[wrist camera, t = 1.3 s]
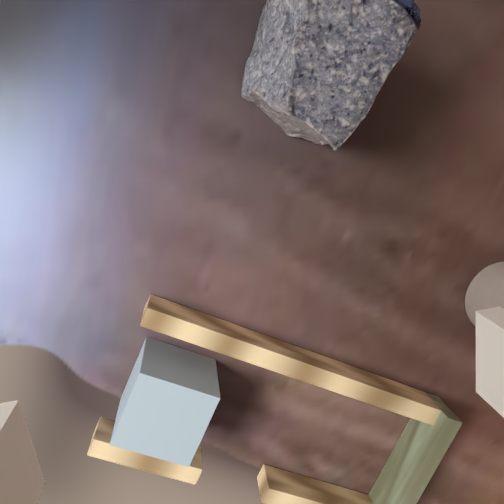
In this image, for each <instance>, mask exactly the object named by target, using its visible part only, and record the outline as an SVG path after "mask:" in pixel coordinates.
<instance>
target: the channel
mask: <svg viewBox="0 0 504 504" xmlns="http://www.w3.org/2000/svg"><path fill="white" fill-rule="evenodd" d="M140 326H142V327H145V328H148V329H151V330H154V331H157V332H160V333H163V334H166V335H169V336H172V337H174V338H177V339H180V340H183V341H186V342H189V343H192V344H195V345H198V346H201V347H204V348H207V349H210V350H213V351H216V352H219V353H221V354H224V355H227V356H230V357H233V358H236V359H239V360H242V361H245V362H248V363H251V364H254V365H257V366H260V367H263V368H266V369H268V370H271V371H274V372H277V373H280V374H283V375H286V376H289V377H292V378H295V379H298V380H301V381H304V382H307V383H310V384H312V385H315V386H318V387H321V388H324V389H327V390H330V391H333V392H336V393H339V394H342V395H345V396H348V397H351V398H354V399H357V400H359V401H362V402H365V403H368V404H371V405H374V406H377V407H380V408H383V409H386V410H389V411H392V412H395V413H398V414H401V415H404V416H406V417H409V418H410V420H409V422H408V423H407V425H406V427H405V429H404V431H403V432H402V434H401V436H400V438H399V440H398V442H397V443H396V445H395V447H394V449H393V451H392V453H391V454H390V456H389V458H388V460H387V462H386V463H385V465H384V467H383V469H382V471H381V473H380V474H379V476H378V478H377V480H376V482H375V484H374V485H373V487H372V489H371V491H370V493H369V494H364V493H361V492H357V491H354V490H350V489H347V488H344V487H340V486H337V485H333V484H330V483H326V482H323V481H320V480H316V479H313V478H309V477H306V476H302V475H299V474H296V473H292V472H289V471H285V470H282V469H278V468H275V467H272V466H268V465H265V464H263V466H262V468H261V470H260V472H259V474H258V477H257V481H258V486H259V490H260V496H261V501H262V503H265V504H417V502H418V500H419V498H420V497H421V495H422V493H423V491H424V490H425V488H426V486H427V484H428V483H429V481H430V479H431V477H432V476H433V474H434V472H435V470H436V469H437V467H438V465H439V463H440V462H441V460H442V458H443V456H444V455H445V453H446V451H447V449H448V448H449V446H450V444H451V442H452V441H453V439H454V437H455V435H456V434H457V432H458V430H459V429H460V427H461V425H462V422H461V421H460V419H459V418H458V417H457V416H456V415H455V414H454V413H453V412H452V411H451V410H450V409H449V408H448V407H447V406H446V404H445V403H444V402H443V401H442V400H441V399H440V398H439V397H437V396H435V395H432V394H429V393H426V392H423V391H421V390H418V389H415V388H412V387H409V386H407V385H404V384H401V383H398V382H395V381H393V380H390V379H387V378H384V377H381V376H379V375H376V374H373V373H370V372H367V371H365V370H362V369H359V368H356V367H353V366H351V365H348V364H345V363H342V362H339V361H337V360H334V359H331V358H328V357H325V356H323V355H320V354H317V353H314V352H311V351H309V350H306V349H303V348H300V347H297V346H295V345H292V344H289V343H286V342H284V341H281V340H278V339H275V338H272V337H270V336H267V335H264V334H261V333H258V332H256V331H253V330H250V329H247V328H244V327H242V326H239V325H236V324H233V323H230V322H228V321H225V320H222V319H219V318H216V317H214V316H211V315H208V314H205V313H202V312H200V311H197V310H194V309H191V308H188V307H186V306H183V305H180V304H177V303H174V302H172V301H169V300H166V299H163V298H160V297H158V296H155V295H152V294H150V296H149V299H148V301H147V304H146V306H145V308H144V311H143V315H142V319H141V324H140ZM114 424H115V421H114V420H111V419H107V418H104V417H100V419H99V421H98V424H97V426H96V428H95V431H94V434H93V437H92V440H91V444H90V447H89V450H88V453H87V455H88V456H92V457H96V458H99V459H103V460H107V461H110V462H114V463H118V464H121V465H125V466H129V467H132V468H136V469H140V470H143V471H147V472H151V473H154V474H158V475H162V476H165V477H169V478H173V479H176V480H180V481H184V482H187V483H191V484H195V485H196V482H197V480H198V478H199V476H200V474H201V472H202V449H201V446H200V445H199V446H198V448H197V450H196V453H195V455H194V457H193V459H192V461H191V464H190V466H189V467H186V466H183V465H179V464H176V463H172V462H169V461H165V460H161V459H158V458H154V457H151V456H147V455H143V454H140V453H136V452H133V451H129V450H125V449H122V448H118V447H115V446H111V445H110V441H111V437H112V433H113V428H114Z"/></svg>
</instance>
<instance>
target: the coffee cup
mask: <svg viewBox="0 0 504 504" xmlns="http://www.w3.org/2000/svg"><path fill="white" fill-rule="evenodd" d="M499 306H500V307H502V308H503V309H504V262H497V263H494V264H491V265H489V266H487V267H486V268H484V269H483V270H481V271H480V272H479V273H478V274H477V275H476V276H475V277H474V279H473V280H472V281H471V283H470V285H469V287H468V289H467V292H466V296H465V310H466V313H467V316H468V318H469V319H470V321H471V322H472V323H473V324H474V325H475V326H476V311H479V310H484V309H489V308H494V307H499Z"/></svg>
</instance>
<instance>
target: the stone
mask: <svg viewBox="0 0 504 504" xmlns="http://www.w3.org/2000/svg"><path fill="white" fill-rule="evenodd" d="M414 8H415V9H414ZM419 15H420V9H419V8H418V6H417V5H416V4H415V3H414V0H267V1H266V3H265V5H264V7H263V10H262V14H261V15H260V21H259V26H258V29H257V32H256V38H255V42H254V45H253V48H252V51H251V54H250V56H249V58H248V60H247V62H246V66H245V72H244V76H243V84H242V92H241V96H242V97H243V98H244V99H246V100H248V101H251V102H252V103H254V104H255V105H256V106H257V107H259V108H260V109H261V110H262V112H264V113H265V114H266V115H268V116H269V117H270V118H271V119H272V120H273V121H274V122H275V123H276V124H277V125H278V126H280V127H281V128H282V129H283V130H284V132H285V133H286V134H287V135H288V136H291V137H297V138H304V139H306V140H309V141H312V142H313V143H315V144H321V145H324V144H326V145H327V144H329V145H330V146H331V147H332V148H333V150H337V149H338V148H339V147H340V146H341V145H342V144H343V143H344V142H345V141H346V140H347V139H348V137H349V136H350V135H351V134H352V133H353V132H354V130H355V129H356V128H357V126H358V125H359V123H360V122H361V121H362V120H363V119H364V118H365V117H366V115H367V113H368V112H369V110H370V108H371V106H372V105H373V103H374V100H375V97H376V96H377V94H378V92H379V91H380V89H381V88H382V86H383V84H384V82H385V81H386V79H387V77H388V75H389V74H390V72H391V70H392V69H393V67H394V66H395V64H396V63H397V62H398V61H399V60H400V59H401V58H402V56H403V55H404V54H405V52H406V51H407V49H408V47H409V45H410V44H411V42H412V40H413V38H414V37H415V35H416V32H417V31H418V29H419V27H420V23H421V19H419V18H420V16H419Z"/></svg>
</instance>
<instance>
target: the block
mask: <svg viewBox="0 0 504 504" xmlns="http://www.w3.org/2000/svg"><path fill="white" fill-rule="evenodd" d="M219 400H220V391H219V383H218V375H217V367H216V360H215V359H212V358H209V357H206V356H203V355H200V354H197V353H194V352H191V351H189V350H186V349H183V348H180V347H177V346H174V345H171V344H168V343H165V342H162V341H159V340H156V339H153V338H150V337H146V339H145V342H144V344H143V346H142V349H141V351H140V354H139V356H138V358H137V361H136V363H135V366H134V368H133V370H132V373H131V375H130V378H129V380H128V383H127V385H126V387H125V390H124V392H123V395H122V397H121V399H120V404H119V408H118V412H117V416H116V420H115V424H114V428H113V433H112V437H111V441H110V445H111V446H115V447H118V448H122V449H125V450H129V451H133V452H136V453H140V454H143V455H147V456H151V457H154V458H158V459H161V460H165V461H169V462H172V463H176V464H179V465H183V466H186V467H189V466H190V464H191V461H192V459H193V457H194V455H195V453H196V450H197V448H198V446H199V444H200V442H201V440H202V437H203V435H204V433H205V431H206V429H207V427H208V424H209V422H210V420H211V418H212V416H213V413H214V411H215V409H216V407H217V405H218V403H219Z"/></svg>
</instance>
